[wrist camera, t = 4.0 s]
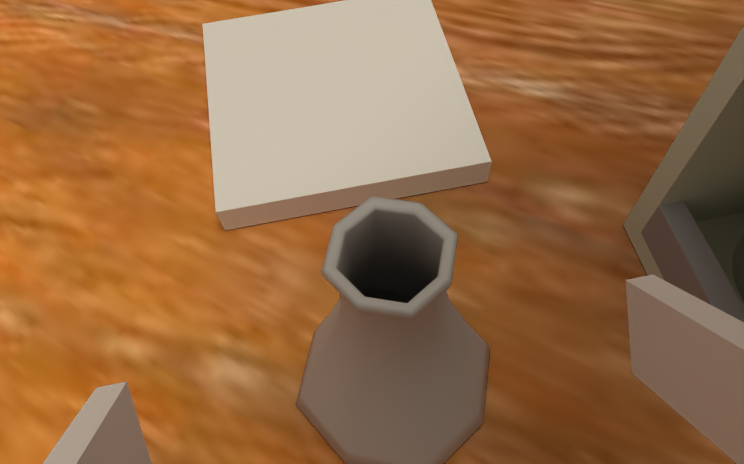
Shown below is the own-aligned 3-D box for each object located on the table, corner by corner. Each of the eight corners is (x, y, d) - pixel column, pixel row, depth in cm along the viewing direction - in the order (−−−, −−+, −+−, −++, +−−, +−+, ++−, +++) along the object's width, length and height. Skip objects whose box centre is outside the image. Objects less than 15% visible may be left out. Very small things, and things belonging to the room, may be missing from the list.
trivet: (425, 10, 33) (426, -13, 32) (487, 181, 27) (491, 161, 26) (210, 46, 33) (202, 23, 31) (224, 230, 26) (215, 212, 25)
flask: (263, 416, 22) (176, 308, 14) (359, 264, 25) (338, 99, 17) (438, 520, 20) (465, 470, 12) (520, 341, 23) (589, 198, 15)
